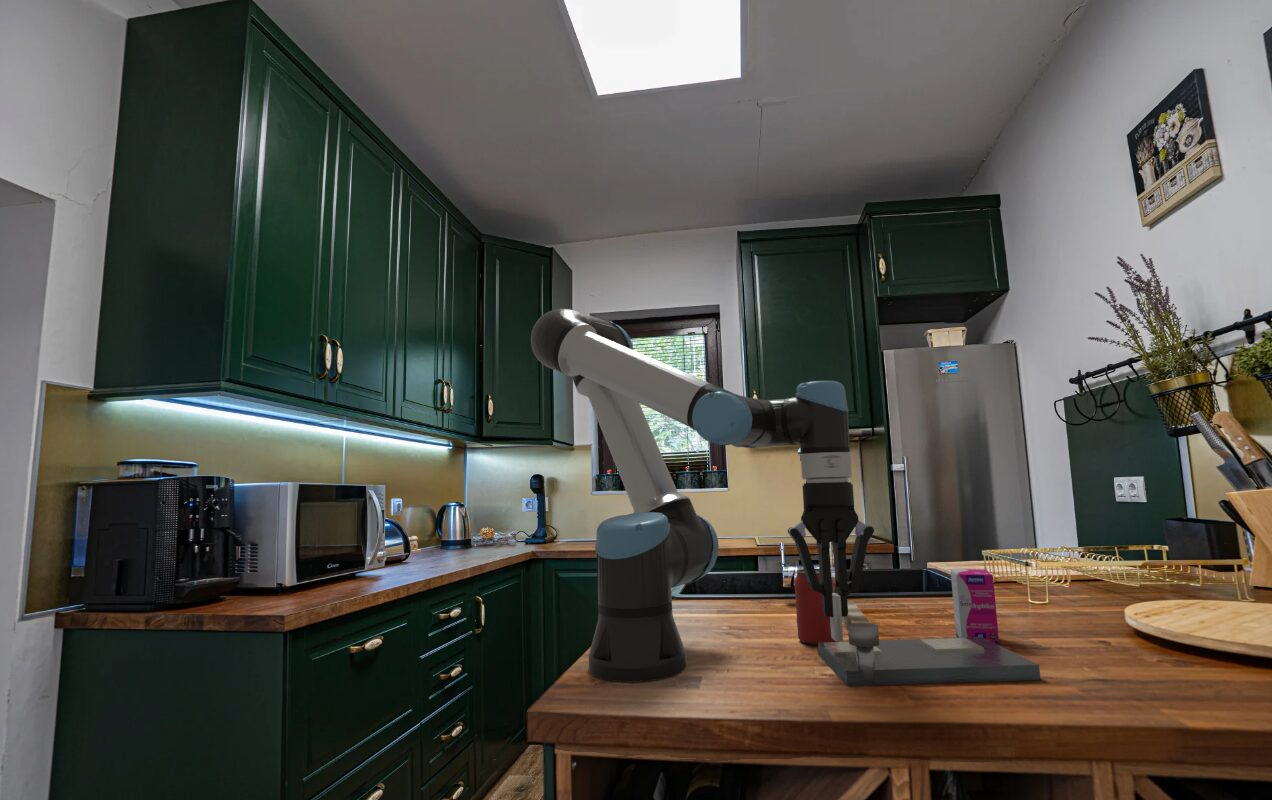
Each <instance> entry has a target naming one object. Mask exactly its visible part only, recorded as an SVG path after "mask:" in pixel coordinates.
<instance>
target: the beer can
mask: <svg viewBox="0 0 1272 800" xmlns="http://www.w3.org/2000/svg"><path fill="white" fill-rule="evenodd" d="M815 572H816V575H817V578H818V581H819V583H820V572H819V568H815ZM832 589H833V593H835V591H834V590H835V586H834V582H833V580H832ZM794 594H795V596H794V597H795V609H796V610H795V611H796V625H797V637H798V639H799V641H800V642H802V643H804V644H806V645H812V646H818V642H836V641H835V640H834V639H833V638H832V637H831V625H830V617H826V616H825V615H824V613H823V604H822V594H821V593H820V592H817V591H814V590H812V589H811V588H810V587H809V584H808V581H807V578H806V575H805V572H804V569H803V568H801V569H798V570H796V576H795V580H794Z"/></svg>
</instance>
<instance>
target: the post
mask: <svg viewBox="0 0 1272 800" xmlns="http://www.w3.org/2000/svg"><path fill="white" fill-rule="evenodd" d="M855 649H856V662H857V669H860V670H864V683H865V687H871V686H872V687H873V686H875V685H874V674H873V670H875V659H874V647H859V646H855Z"/></svg>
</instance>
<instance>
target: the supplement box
mask: <svg viewBox="0 0 1272 800" xmlns="http://www.w3.org/2000/svg"><path fill="white" fill-rule="evenodd" d="M950 578H951V588H952V589H951V591H952V602H953V603H952V604H953V616H954V626H955V627H954V629H955V636H956V638H963V637H983V638H985V639H987V640H989V641H991V642H993V643H995V644H997V645H999V644H1000V637H999V628H998V627H999V626H998V624H999V623H998V615H997V604H996V603H997V602H996V595H995V594H996V593H995V583H994V582H995V581H994V580H995V579H994V575H993V574H992V573H991V572H990V571H988V570H987V569H984V568H983V569H981V568H979V569H978V568H977V569H976V568H951V569H950ZM999 646H1000V645H999Z"/></svg>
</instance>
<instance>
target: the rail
mask: <svg viewBox="0 0 1272 800" xmlns="http://www.w3.org/2000/svg"><path fill="white" fill-rule="evenodd" d="M847 603H848V615H847V617H842V624H843V625H844V627H845V629H846V630H847V632H848V633H847V634H848V635H847V636H848V641H849V644H851V645H853V646H859V647H874V646H878V645H879V640H880V634H879V626H878V624H876V623H873V622H872V623H871V622H870V620H868V618H867V617H866V616H865V615H864V613H863V612H862V610H861V609H860V608H859V607H858V606H857V604H856V603H855V601H854V600H847Z"/></svg>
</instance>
